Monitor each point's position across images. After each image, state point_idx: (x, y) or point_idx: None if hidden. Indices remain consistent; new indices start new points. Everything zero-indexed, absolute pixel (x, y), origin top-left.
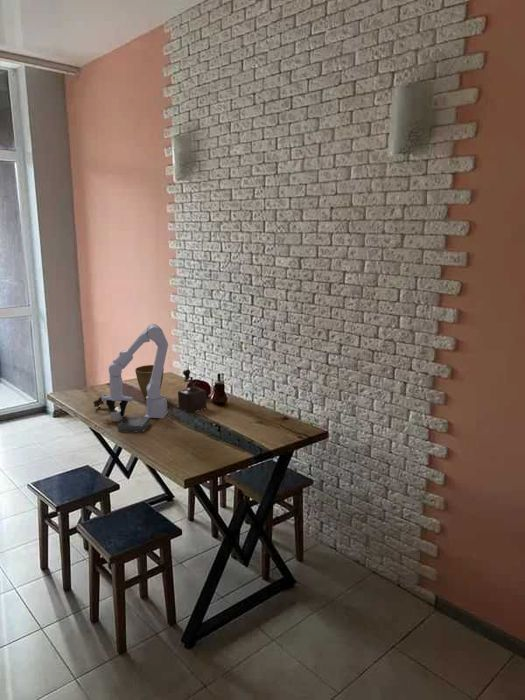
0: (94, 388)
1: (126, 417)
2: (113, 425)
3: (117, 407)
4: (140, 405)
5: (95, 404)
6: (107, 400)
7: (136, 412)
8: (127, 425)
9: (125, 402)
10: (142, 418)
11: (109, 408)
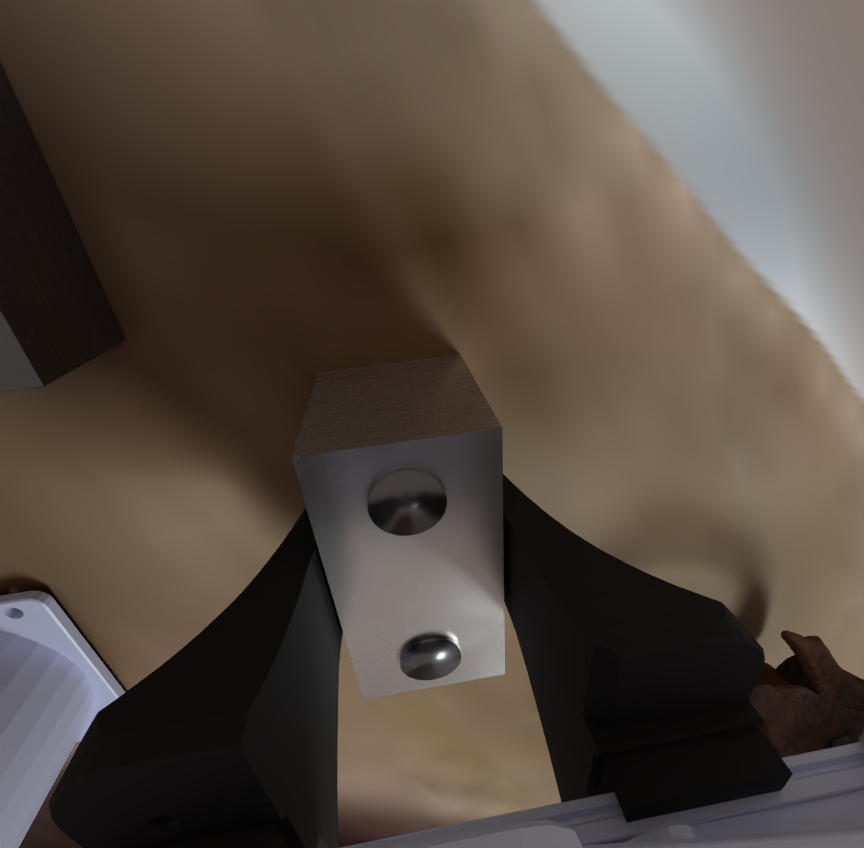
0: None
1: (6, 338)
2: (294, 136)
3: (479, 657)
4: (375, 786)
5: (835, 665)
6: (773, 773)
7: None
8: None
9: (80, 844)
10: None
11: (581, 542)
